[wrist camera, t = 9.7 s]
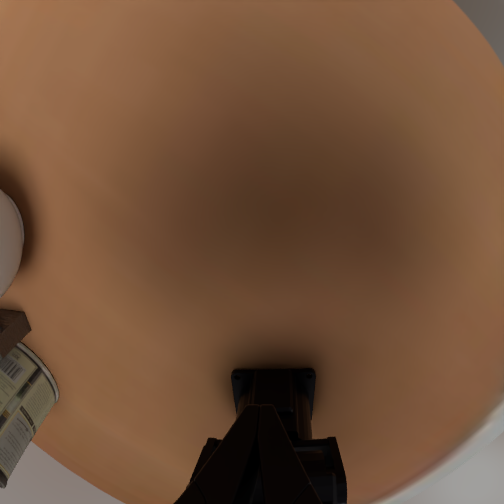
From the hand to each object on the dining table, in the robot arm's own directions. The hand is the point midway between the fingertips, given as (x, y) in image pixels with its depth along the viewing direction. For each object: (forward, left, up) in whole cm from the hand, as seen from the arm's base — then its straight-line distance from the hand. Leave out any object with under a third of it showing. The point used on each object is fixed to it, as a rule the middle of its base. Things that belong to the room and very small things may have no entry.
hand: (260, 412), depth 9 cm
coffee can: (-13, +28, -12) cm, 33 cm away
